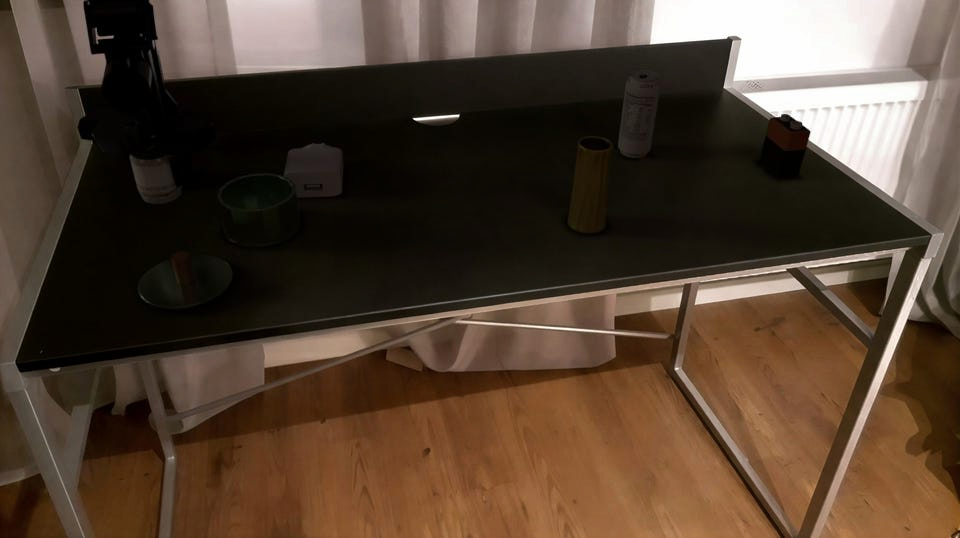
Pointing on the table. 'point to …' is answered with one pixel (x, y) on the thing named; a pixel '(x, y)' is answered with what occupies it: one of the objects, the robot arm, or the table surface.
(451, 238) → the table surface
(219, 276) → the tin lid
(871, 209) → the table surface
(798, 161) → the battery
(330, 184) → the charger
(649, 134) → the energy drink can
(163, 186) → the camera lens
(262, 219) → the tin
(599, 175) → the vase
